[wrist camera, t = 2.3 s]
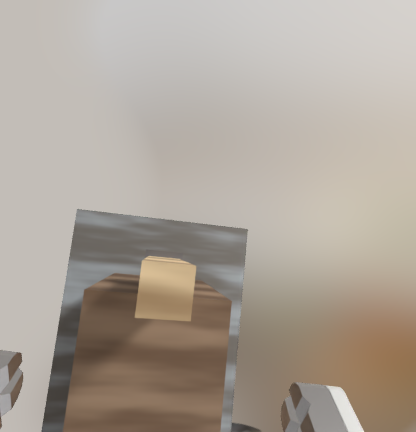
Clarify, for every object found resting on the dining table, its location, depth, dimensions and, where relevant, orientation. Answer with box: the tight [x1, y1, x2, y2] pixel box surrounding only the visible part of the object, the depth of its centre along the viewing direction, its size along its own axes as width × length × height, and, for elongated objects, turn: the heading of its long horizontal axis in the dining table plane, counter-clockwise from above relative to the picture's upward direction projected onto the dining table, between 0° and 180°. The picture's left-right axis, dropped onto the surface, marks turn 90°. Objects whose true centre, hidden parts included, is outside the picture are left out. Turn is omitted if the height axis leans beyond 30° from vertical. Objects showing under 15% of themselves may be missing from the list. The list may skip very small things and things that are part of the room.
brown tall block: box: [42, 209, 248, 432], centre depth 32 cm, size 19×24×34 cm
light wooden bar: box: [135, 249, 196, 321], centre depth 24 cm, size 16×4×4 cm, turn 10°
